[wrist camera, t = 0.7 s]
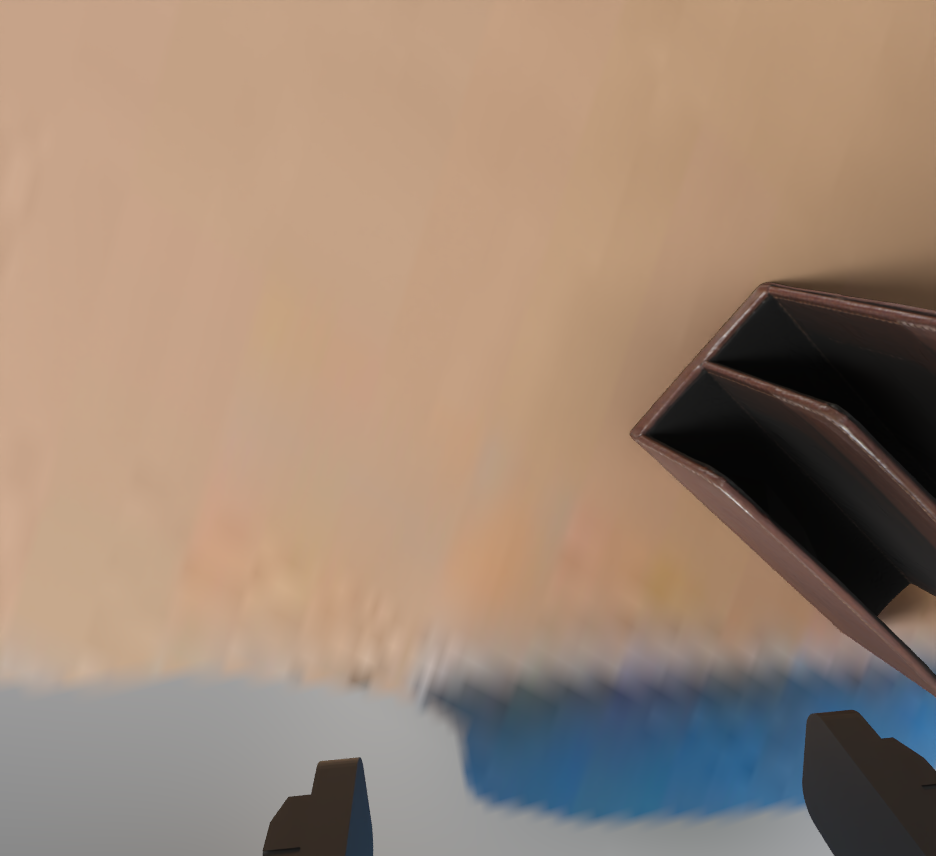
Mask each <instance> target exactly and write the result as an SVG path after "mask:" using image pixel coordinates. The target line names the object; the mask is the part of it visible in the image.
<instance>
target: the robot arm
mask: <svg viewBox="0 0 936 856" xmlns="http://www.w3.org/2000/svg"><path fill="white" fill-rule="evenodd" d="M802 787H803V794H804V799H805V803H806V806H807V809H808V812H809V814H810V816H811V818H812V820H813V822H814V824H815V826H816V827H817V829H818V830H819V832H820V834H821V835H822V837H823V838H824V840H825V842H826V843H827V845H828V846H829V848H830V850H831V851H832V853H833V854H834V856H936V771H935V770H934V769H933V767H932V766H931V765H930V764H929V763H928V762H927V761H926V760H925V759H924V758H923V757H922V756H920V755H919V754H917V753H916V752H914V751H913V750H911V749H910V748H908V747H907V746H905V745H904V744H902V743H901V742H899V741H898V740H896V739H895V738H883V739H881V738H880V737H879V735H878V734H877V733H876V732H875V731H874V730H873V728H872V727H871V726H870V725H869V724H868V722H867V721H866V720H865V719H864V718H863V717H862V716H861V715H860V714H859V713H858V712H857V711H855V710H845V711H835V712H825V713H815V714H811V715H810V716H809V717H808V719H807V724H806V737H805V751H804V765H803V778H802ZM263 856H373V834H372V824H371V816H370V810H369V803H368V796H367V789H366V782H365V775H364V768H363V763H362V760H361V758H360V757H359V758H349V759H340V760H329V761H320V762H319V763H318V765H317V769H316V774H315V778H314V783H313V788H312V793H311V795H303V796H293V797H288V798H287V800H286V801H285V802H284V804H283V805H282V807H281V808H280V809H279V811H278V812H277V814H276V815H275V816H274V818H273V819H272V821H271V822H270V825H269V829H268V833H267V836H266V840H265V844H264V848H263Z"/></svg>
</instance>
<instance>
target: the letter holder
mask: <svg viewBox="0 0 936 856" xmlns="http://www.w3.org/2000/svg"><path fill="white" fill-rule="evenodd" d="M630 436H631V437H632V439H633V440H635V441H636V442H637V443H638V444H639V445H640V446H641V447H643V448H644V449H645V450H646V451H647V452H648V453H649V454H650V455H651V456H652V457H653V458H655V459H656V460H657V461H658V462H659V463H660V464H661V465H662V466H663V467H664V468H665V469H666V470H667V471H668V472H669V473H670V474H672V475H673V476H674V477H675V478H676V479H677V480H678V481H679V482H680V483H681V484H682V485H683V486H685V487H686V488H687V489H688V490H689V491H690V492H691V493H692V494H693V495H694V496H695V497H696V498H697V499H698V500H699V501H701V502H702V503H703V504H704V505H705V506H706V507H707V508H708V509H709V510H710V511H711V512H712V513H714V514H715V515H716V516H717V517H718V518H719V519H720V520H721V521H722V522H723V523H724V524H725V525H727V526H728V527H729V528H730V529H731V530H732V531H733V532H734V533H735V534H737V535H738V536H739V537H740V538H741V539H742V540H743V541H744V542H745V543H746V544H747V545H748V546H749V547H750V548H751V549H752V550H754V551H755V552H756V553H757V554H758V555H759V556H760V557H761V558H762V559H763V560H764V561H765V562H767V563H768V564H769V565H770V566H771V567H772V568H773V569H774V570H775V571H776V572H777V573H778V574H780V575H781V576H782V577H783V578H784V579H785V580H786V581H787V582H788V583H789V584H790V585H791V586H792V587H794V588H795V589H796V590H797V591H798V592H799V593H800V594H801V595H802V596H803V597H804V598H805V599H806V600H808V601H809V602H810V603H811V604H812V605H813V606H814V607H816V608H817V609H818V610H819V611H820V612H821V613H822V614H823V615H824V616H825V617H827V618H828V619H829V620H830V621H831V622H832V623H833V625H835V626H836V627H837V629H839V630H840V632H842V633H844V634H845V635H847V636H849V637H850V638H852V639H853V640H854V641H856V642H857V643H859V644H860V645H861V646H863V647H864V648H866V649H867V650H869V651H870V652H872V653H873V654H874V655H876V656H877V657H879V658H880V659H882V660H883V661H884V662H886V663H887V664H889V665H890V666H892V667H893V668H895V669H896V670H898V671H899V672H901V673H902V674H904V675H905V676H906V677H908V678H909V679H911V680H912V681H914V682H916V683H917V684H918V685H919V686H921V687H922V688H923V689H925V690H927V691H928V692H929V693H931V694H932V695H934V696H935V697H936V675H935V674H934V673H933V672H932V671H931V670H930V669H929V667H928V666H927V665H926V664H925V663H924V662H923V661H922V660H921V659H920V658H919V657H918V656H917V655H916V654H915V653H914V652H913V651H912V650H911V649H910V648H909V647H908V646H907V645H906V644H905V643H904V642H903V641H902V640H901V639H899V638H898V637H897V636H896V635H895V634H894V633H893V632H892V631H891V630H890V629H889V628H888V627H887V626H886V625H885V624H884V623H883V622H882V621H881V620H880V619H879V618H878V617H877V616H878V615H879V613H880V612H881V611H882V610H883V609H884V608H885V607H886V606H887V605H888V604H889V603H890V602H891V601H892V600H893V599H894V598H895V597H896V596H897V595H898V594H899V593H900V592H901V591H902V590H903V589H904V588H905V587H907V586H908V585H909V584H914V585H916V586H918V587H919V588H921V589H923V590H925V591H927V592H929V593H930V594H932V595H934V596H936V311H934V310H929V309H923V308H917V307H913V306H906V305H901V304H897V303H890V302H883V301H877V300H869V299H863V298H857V297H850V296H844V295H840V294H834V293H827V292H822V291H816V290H808V289H800V288H795V287H789V286H784V285H780V284H776V283H764V284H761V285H760V286H759V287H758V288H757V289H756V290H755V291H754V292H753V293H752V294H751V295H750V296H749V298H748V299H747V300H746V301H745V302H744V303H743V304H742V305H741V306H740V308H739V309H738V310H737V311H736V312H735V313H734V314H733V315H732V317H731V318H730V319H729V320H728V321H727V322H726V323H725V324H724V326H723V327H722V328H721V329H720V330H719V331H718V332H717V334H716V335H715V336H714V337H713V338H712V339H711V340H710V341H709V342H708V344H707V345H706V346H705V347H704V348H703V349H702V350H701V351H700V353H699V354H698V355H697V356H696V357H695V358H694V360H693V361H692V362H691V363H690V364H689V365H688V366H687V367H686V368H685V370H684V371H683V372H682V373H681V374H680V375H679V376H678V378H677V379H676V380H675V381H674V382H673V383H672V385H671V386H670V387H669V388H668V389H667V390H666V392H664V393H663V394H662V396H661V397H660V398H659V399H658V400H657V401H656V402H655V403H654V404H653V406H652V407H651V409H650V410H649V411H648V412H647V413H646V415H644V416H643V418H642V419H641V420H640V421H639V422H638V423H637V424H636V426H635V427H634V428H633V429H632V430H631V432H630Z"/></svg>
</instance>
